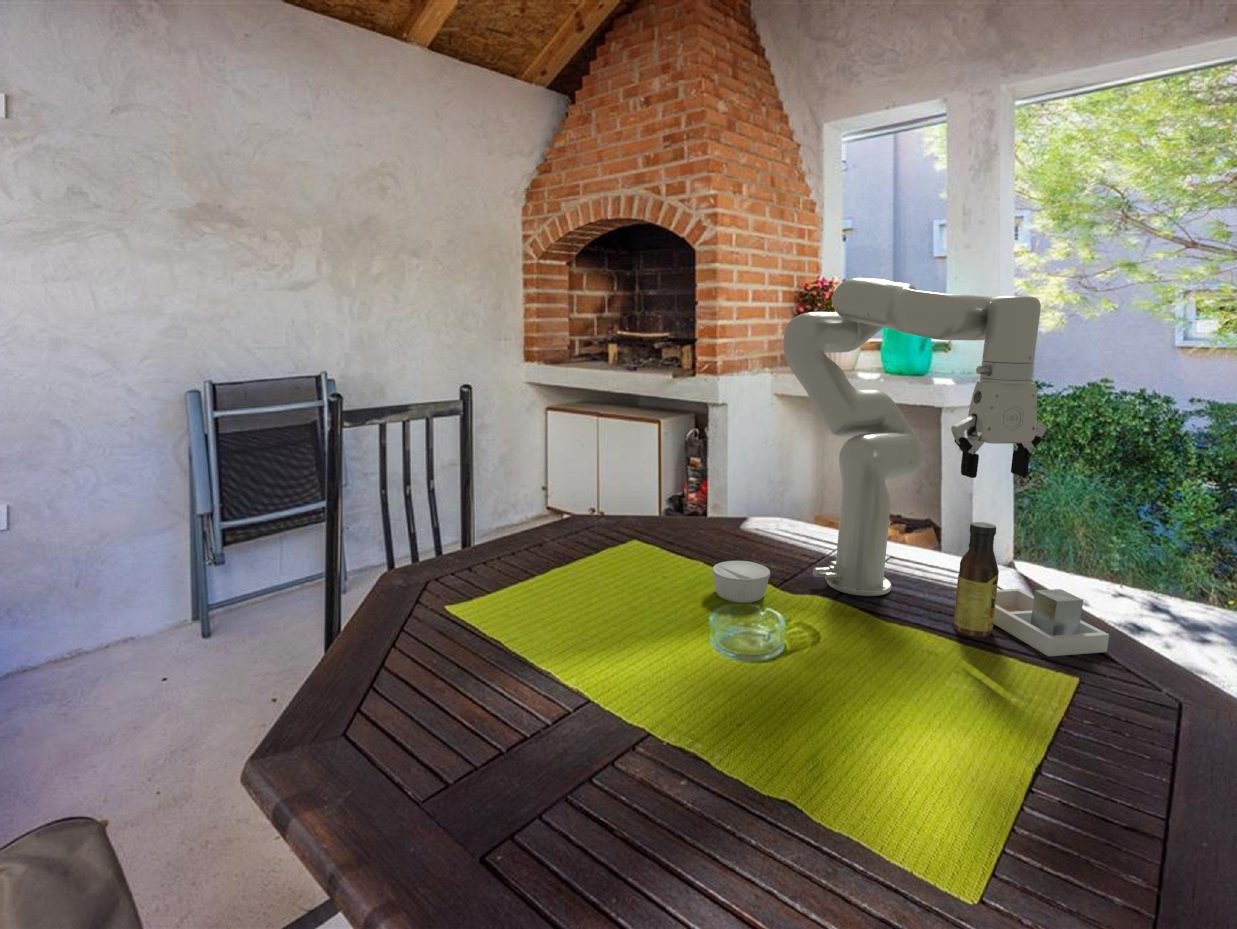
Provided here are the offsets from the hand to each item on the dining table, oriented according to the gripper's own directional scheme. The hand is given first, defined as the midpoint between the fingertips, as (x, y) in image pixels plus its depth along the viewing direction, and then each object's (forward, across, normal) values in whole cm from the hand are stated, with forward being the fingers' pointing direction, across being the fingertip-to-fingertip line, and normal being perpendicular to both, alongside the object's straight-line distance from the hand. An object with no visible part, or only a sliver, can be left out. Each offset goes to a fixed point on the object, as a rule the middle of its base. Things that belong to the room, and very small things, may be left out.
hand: (993, 475), depth 125 cm
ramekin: (+29, -34, +25) cm, 51 cm away
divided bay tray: (+28, +10, -1) cm, 30 cm away
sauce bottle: (+29, -1, 0) cm, 29 cm away
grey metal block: (+28, +10, -6) cm, 30 cm away
